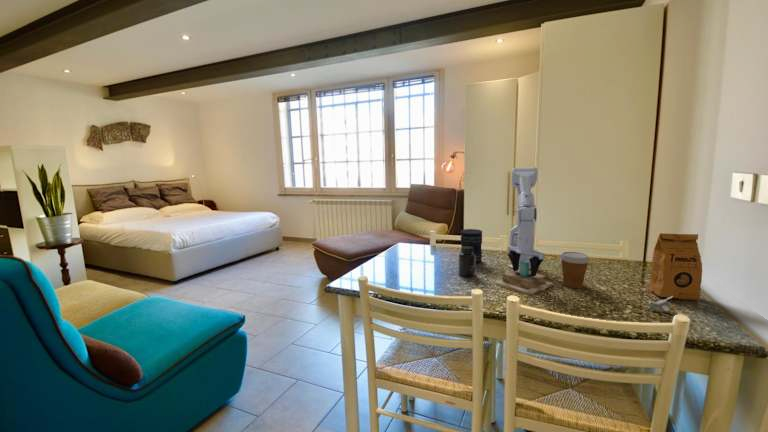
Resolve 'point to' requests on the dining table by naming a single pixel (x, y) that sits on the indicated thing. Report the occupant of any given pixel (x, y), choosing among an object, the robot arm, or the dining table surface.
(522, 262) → the peg
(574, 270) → the disposable coffee cup
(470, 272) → the supplement bottle
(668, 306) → the dog figurine
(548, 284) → the socket board
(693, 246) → the coffee package
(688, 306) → the dining table surface
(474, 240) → the storage jar
